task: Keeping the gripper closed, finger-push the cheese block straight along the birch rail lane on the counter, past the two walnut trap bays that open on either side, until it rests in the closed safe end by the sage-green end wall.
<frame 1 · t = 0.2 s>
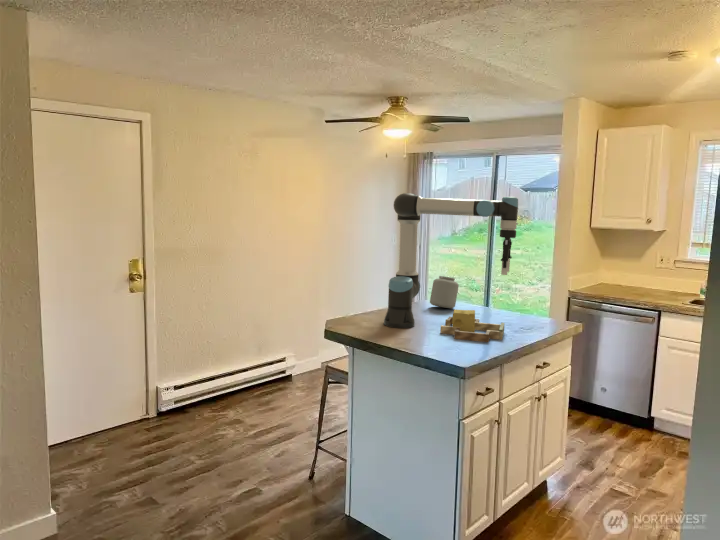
hand: (505, 273, 259), 28 cm above the countertop, fingers open, 13 cm apart
trap lane: (472, 332, 253), on the countertop
jar: (444, 308, 312), on the countertop
cheese: (462, 332, 255), resting in trap lane
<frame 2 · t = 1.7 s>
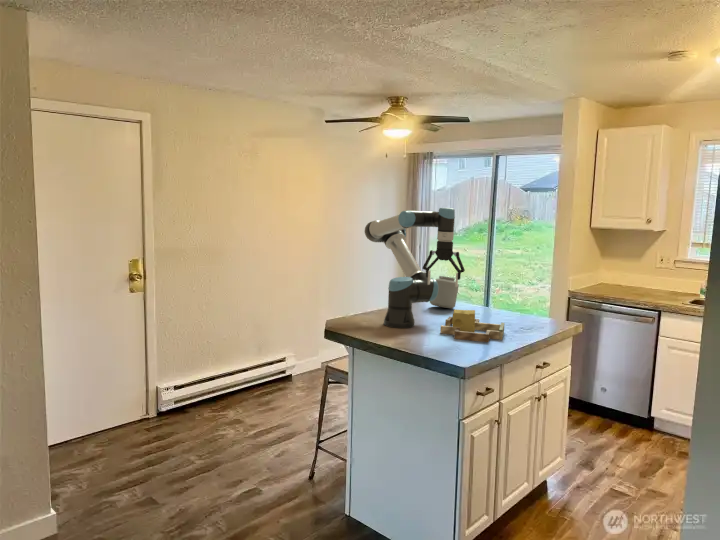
hand: (442, 285, 256), 21 cm above the countertop, fingers open, 12 cm apart
nothing on the countertop moved.
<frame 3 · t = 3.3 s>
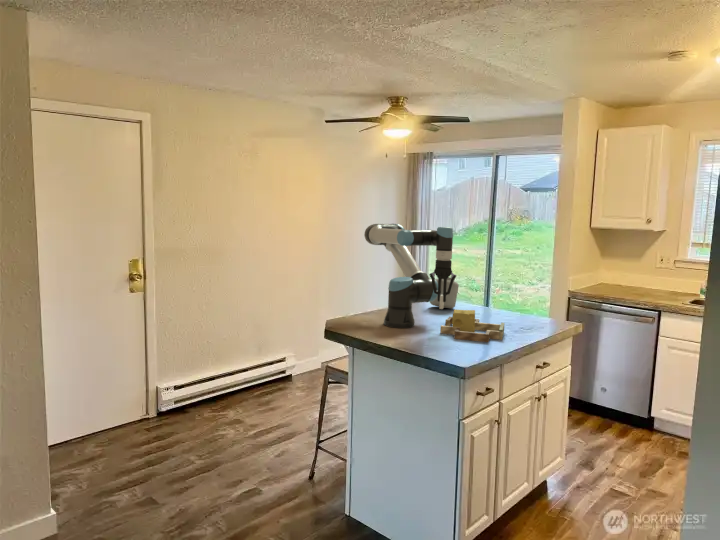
hand: (441, 308, 257), 10 cm above the countertop, fingers closed
nothing on the countertop moved.
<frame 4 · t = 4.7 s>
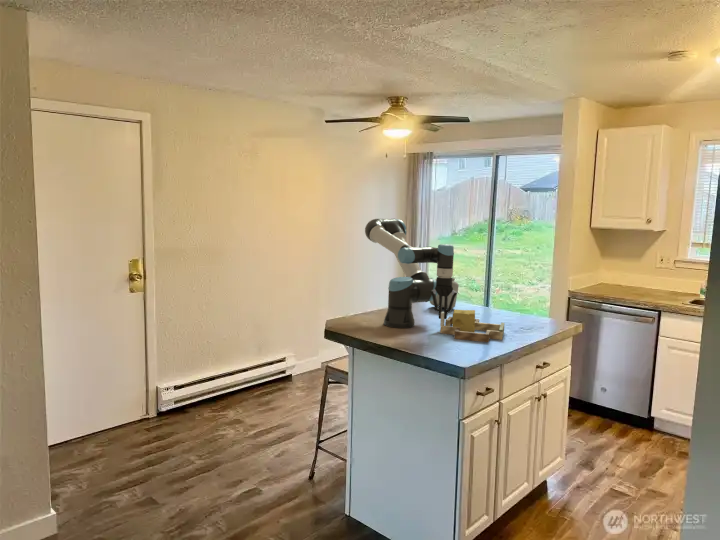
hand: (442, 325, 257), 2 cm above the countertop, fingers closed
nothing on the countertop moved.
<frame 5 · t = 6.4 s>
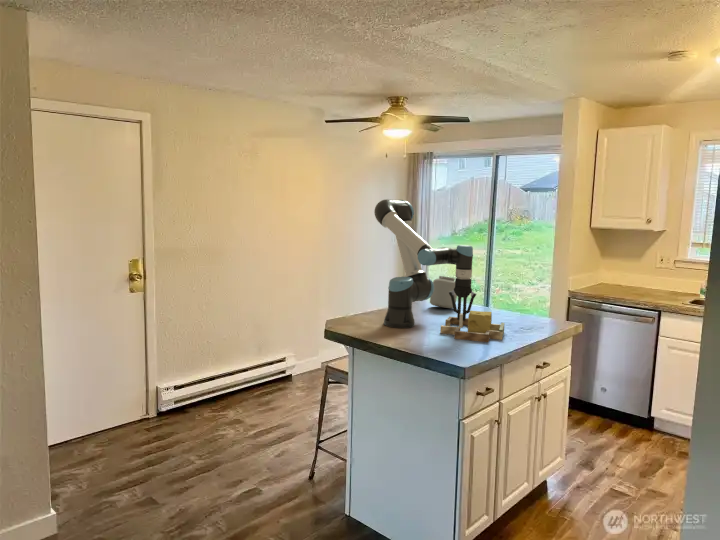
hand: (461, 327, 254), 2 cm above the countertop, fingers closed
cheese: (478, 333, 252), resting in trap lane, touching hand
everything else where it was.
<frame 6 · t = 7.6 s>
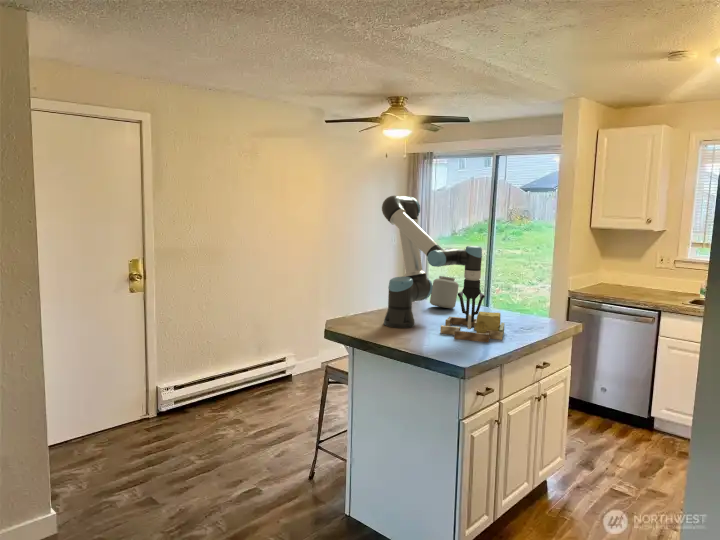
hand: (469, 328, 254), 2 cm above the countertop, fingers closed
cheese: (487, 334, 251), resting in trap lane, touching hand
everything else where it was.
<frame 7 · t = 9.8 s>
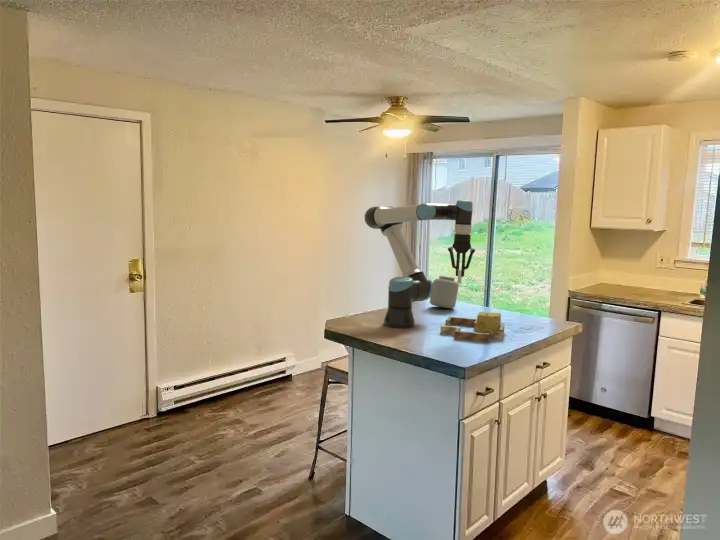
hand: (459, 283, 254), 23 cm above the countertop, fingers closed
cheese: (487, 335, 251), resting in trap lane
everything else where it was.
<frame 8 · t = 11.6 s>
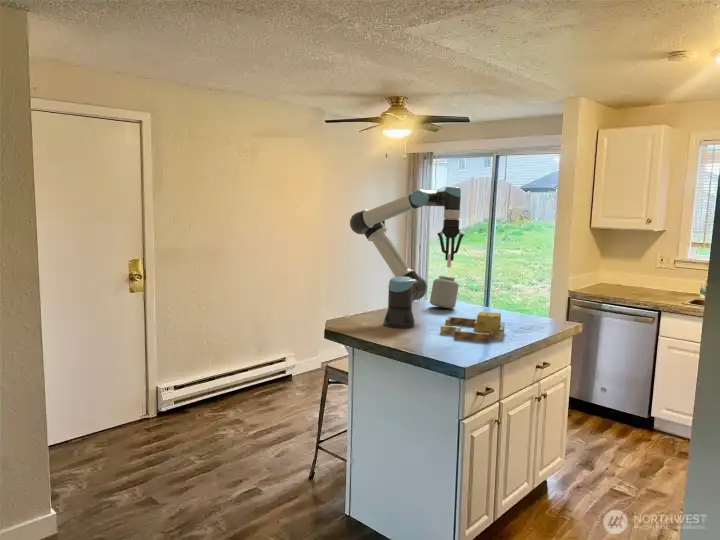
hand: (449, 267, 262), 29 cm above the countertop, fingers closed
nothing on the countertop moved.
at the end: cheese inside the target area (0.7 cm from its centre), resting in trap lane; cheese tilted 0° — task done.
